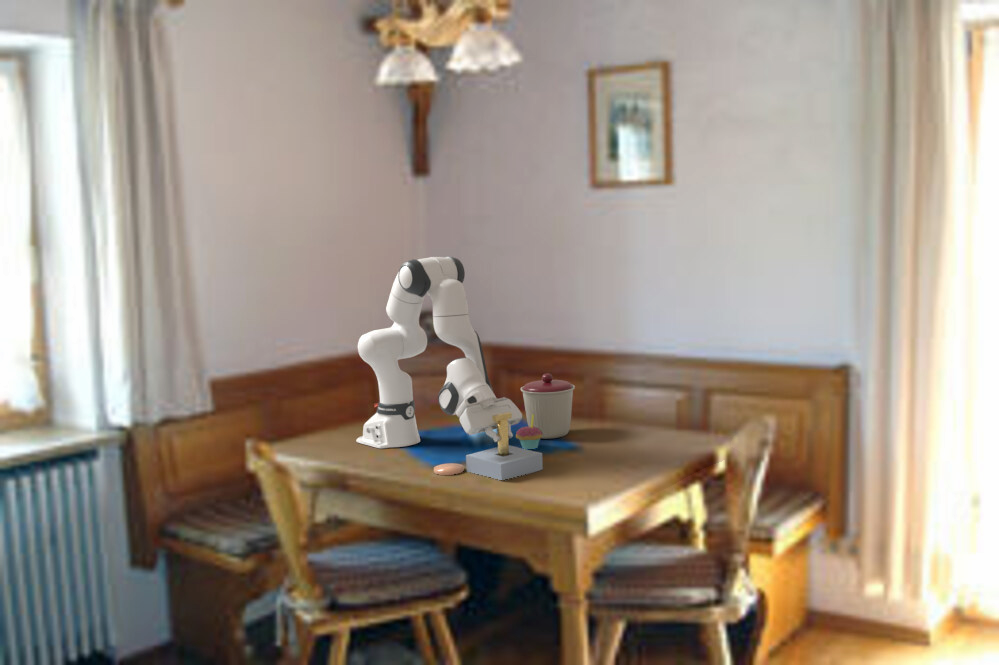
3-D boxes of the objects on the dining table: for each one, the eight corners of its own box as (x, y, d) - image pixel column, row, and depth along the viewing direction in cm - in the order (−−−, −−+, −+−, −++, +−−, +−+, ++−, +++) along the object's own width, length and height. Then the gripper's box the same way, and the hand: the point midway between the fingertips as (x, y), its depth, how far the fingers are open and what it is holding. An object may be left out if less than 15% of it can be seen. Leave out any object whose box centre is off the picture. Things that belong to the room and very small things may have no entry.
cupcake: (547, 446, 334) (546, 409, 332) (535, 452, 327) (533, 415, 325) (524, 444, 338) (522, 408, 337) (511, 450, 331) (509, 413, 329)
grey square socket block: (466, 471, 309) (466, 455, 308) (507, 460, 319) (506, 444, 318) (501, 481, 296) (500, 464, 296) (542, 469, 307) (542, 453, 306)
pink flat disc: (427, 473, 309) (427, 469, 309) (447, 465, 316) (447, 462, 316) (450, 477, 303) (450, 473, 303) (470, 469, 311) (469, 465, 310)
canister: (577, 428, 356) (575, 368, 353) (575, 441, 338) (573, 378, 335) (524, 429, 358) (522, 369, 355) (520, 442, 340) (517, 379, 337)
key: (493, 470, 307) (490, 415, 304) (508, 466, 311) (506, 411, 308) (500, 472, 304) (497, 416, 302) (515, 468, 308) (513, 413, 306)
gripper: (503, 402, 320) (525, 438, 314) (451, 414, 307) (473, 451, 301) (512, 390, 316) (535, 426, 310) (459, 401, 303) (482, 439, 297)
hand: (504, 439), depth 306 cm, fingers closed on key, 3 cm apart
